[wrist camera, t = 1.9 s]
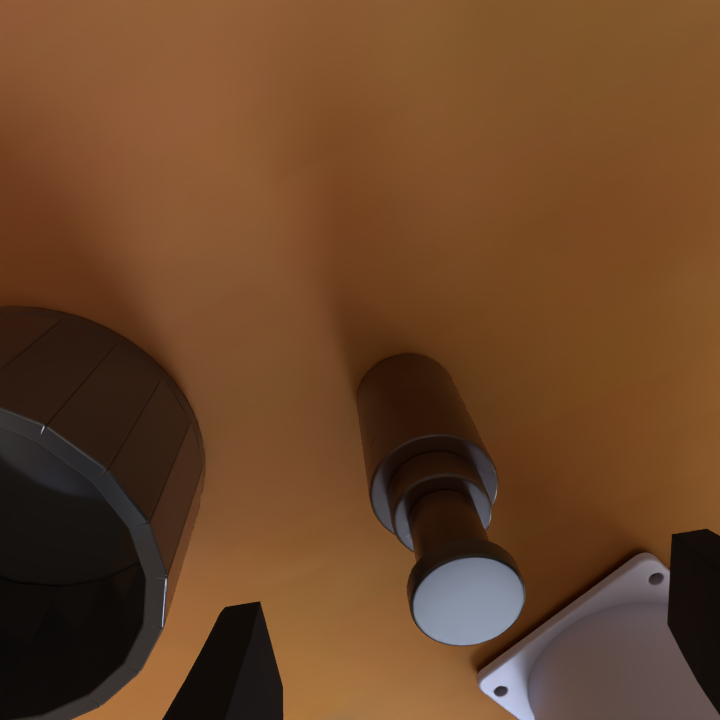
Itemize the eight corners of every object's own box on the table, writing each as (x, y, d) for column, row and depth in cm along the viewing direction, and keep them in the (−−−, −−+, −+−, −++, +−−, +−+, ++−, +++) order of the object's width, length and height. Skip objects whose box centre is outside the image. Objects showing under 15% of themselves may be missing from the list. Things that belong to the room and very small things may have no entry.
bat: (474, 397, 19) (584, 598, 11) (403, 459, 20) (460, 690, 12) (408, 332, 18) (478, 501, 10) (335, 400, 19) (349, 607, 11)
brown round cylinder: (270, 452, 19) (253, 574, 14) (79, 629, 21) (5, 791, 16) (-1, 233, 16) (-144, 287, 11) (-191, 462, 19) (-384, 596, 13)
